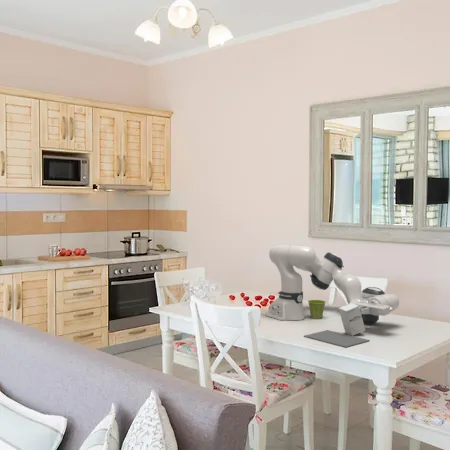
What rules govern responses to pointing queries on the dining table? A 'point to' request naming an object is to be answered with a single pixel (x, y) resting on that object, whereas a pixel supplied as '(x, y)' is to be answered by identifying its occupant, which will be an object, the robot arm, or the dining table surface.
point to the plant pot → (316, 308)
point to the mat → (336, 338)
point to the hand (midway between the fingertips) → (359, 310)
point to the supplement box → (352, 319)
